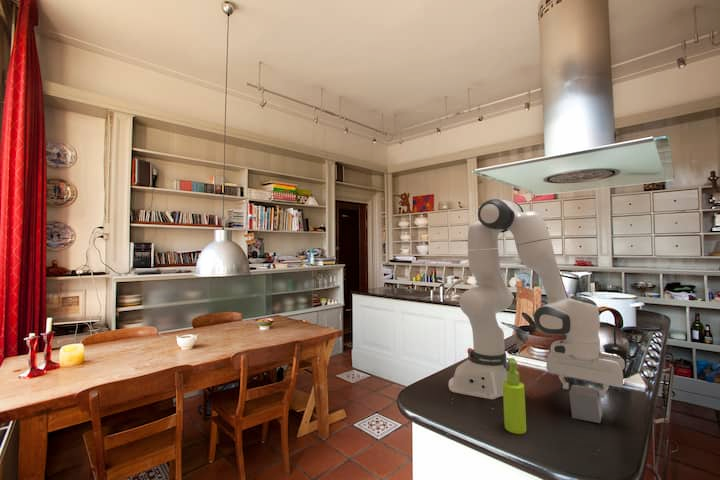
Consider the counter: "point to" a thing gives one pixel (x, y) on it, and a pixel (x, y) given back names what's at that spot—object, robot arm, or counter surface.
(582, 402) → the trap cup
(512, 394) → the soap dispenser
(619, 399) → the counter surface
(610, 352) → the drinking cup
